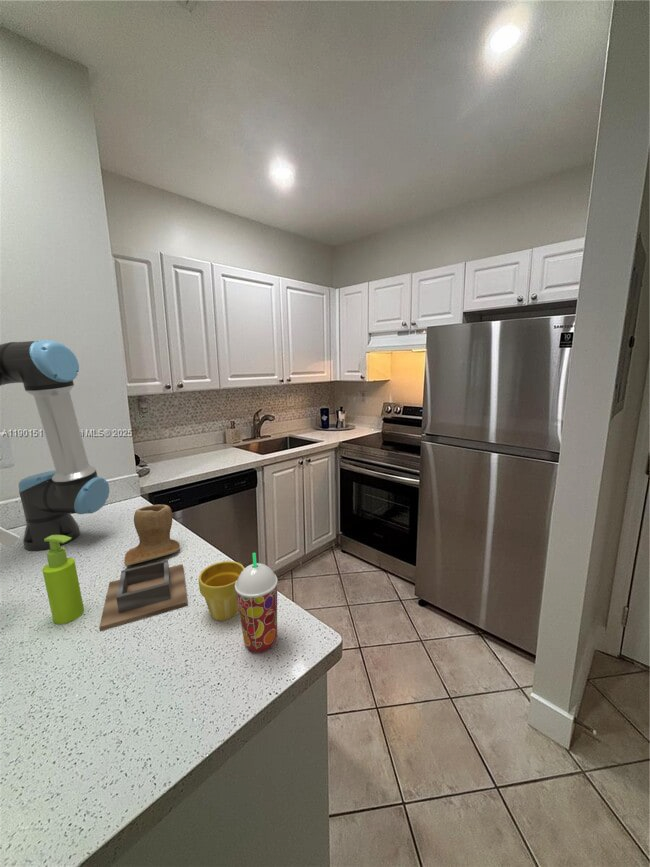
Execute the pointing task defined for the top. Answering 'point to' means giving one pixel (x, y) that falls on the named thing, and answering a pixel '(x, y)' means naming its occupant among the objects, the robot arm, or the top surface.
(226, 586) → the plant pot
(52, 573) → the soap dispenser
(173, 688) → the top surface
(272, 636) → the smoothie
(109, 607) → the dispenser stand
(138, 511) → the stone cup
